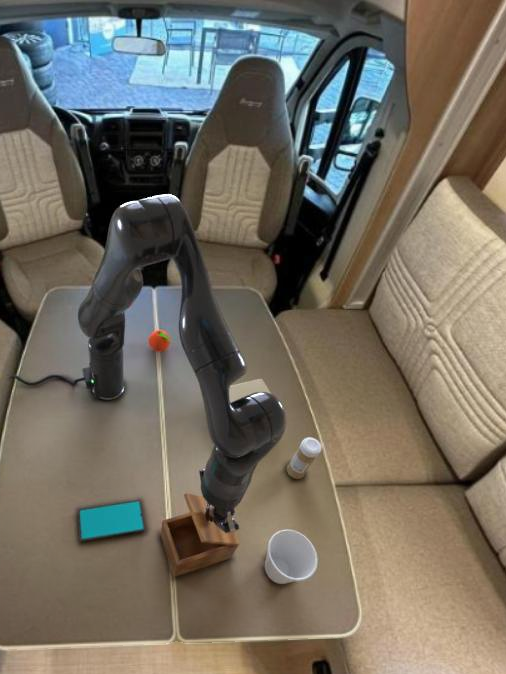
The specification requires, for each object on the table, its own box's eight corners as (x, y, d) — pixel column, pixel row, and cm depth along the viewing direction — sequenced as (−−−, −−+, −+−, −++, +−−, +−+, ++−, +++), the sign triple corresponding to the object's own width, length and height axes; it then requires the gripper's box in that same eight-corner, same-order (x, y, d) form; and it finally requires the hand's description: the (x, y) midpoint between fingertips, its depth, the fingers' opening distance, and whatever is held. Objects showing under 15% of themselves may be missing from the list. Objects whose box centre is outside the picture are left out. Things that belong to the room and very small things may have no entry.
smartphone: (77, 509, 98) (139, 500, 100) (78, 511, 99) (139, 501, 101) (79, 541, 94) (144, 530, 96) (80, 542, 94) (144, 531, 96)
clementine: (176, 347, 135) (178, 331, 130) (165, 360, 131) (166, 345, 126) (155, 337, 138) (156, 322, 132) (144, 350, 134) (144, 334, 128)
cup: (250, 547, 95) (262, 531, 86) (292, 544, 96) (308, 527, 87) (262, 595, 88) (276, 582, 80) (307, 591, 89) (325, 578, 81)
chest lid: (201, 542, 76) (204, 540, 76) (183, 494, 82) (186, 492, 82) (237, 545, 86) (240, 544, 86) (218, 503, 92) (221, 501, 92)
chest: (174, 577, 90) (177, 565, 84) (160, 534, 96) (162, 520, 90) (230, 558, 93) (238, 545, 87) (213, 517, 99) (219, 503, 92)
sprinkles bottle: (307, 473, 107) (326, 447, 97) (295, 482, 106) (313, 457, 95) (294, 460, 110) (311, 433, 99) (282, 468, 108) (298, 442, 98)
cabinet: (231, 435, 114) (237, 418, 108) (216, 404, 121) (220, 387, 114) (272, 424, 117) (280, 407, 111) (255, 395, 123) (261, 378, 117)
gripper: (190, 449, 72) (181, 491, 85) (222, 521, 64) (206, 555, 77) (229, 438, 74) (215, 481, 87) (265, 508, 66) (242, 543, 79)
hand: (211, 516), depth 82 cm, fingers closed
